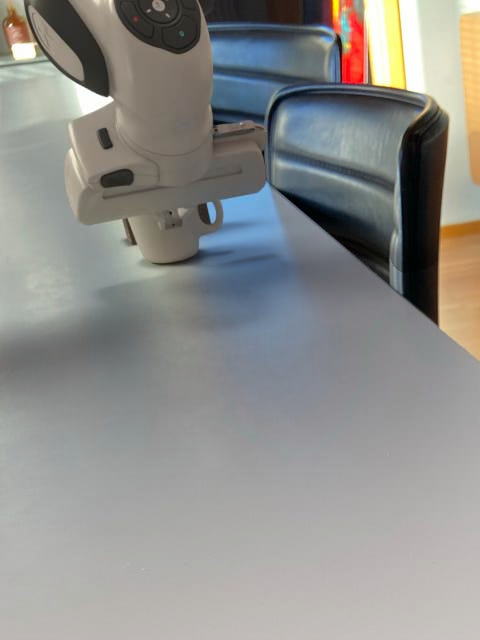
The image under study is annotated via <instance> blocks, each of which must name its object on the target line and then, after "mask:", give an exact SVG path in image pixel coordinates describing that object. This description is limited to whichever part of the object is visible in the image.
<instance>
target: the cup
mask: <svg viewBox="0 0 480 640" xmlns="http://www.w3.org/2000/svg"><path fill="white" fill-rule="evenodd" d="M211 203H212V205H213V207H214V210H215V220H214V222H213V223H211V225H207V224H205V223H203V222H202V221H201V219H200V217H199V214H198V205H197V207H196V208H195V209H194V211H193V212H192V213H191V214H190V215H189V216H188V217H187V225H186V226H182V227H176V228H171V229H166V230H162V231H161V230H160V229H159V225H158V222H157V221H156V220H155V219H153V218H152V217H150V215H149V214H146V215H141V216H135V217H130V218H128V221H129V223H130V226H131V229H132V231H133V234H134V237H135V240H136V242H137V247H138V250H139V252H140V253H141V254H140V255H142V257H143V258H144V259H145V260H146V261H148V262H150V263H155V264H170V263H171V264H172V263H176V262H182V261H185V260H188V259H190V258H193V257H194V256H195V255H196V254H197V253H198V251H199V249H200V238H201V237H203V236H205V235H210V234H211V235H212V234H214V233H217V232H218V231H219V230H220V229H221V227H222V226H223V223H224V207H223V204H222V200H218V201H213V202H211Z"/></svg>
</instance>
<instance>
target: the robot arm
mask: <svg viewBox="0 0 480 640" xmlns="http://www.w3.org/2000/svg"><path fill="white" fill-rule="evenodd" d="M215 1H216V0H23V7H24V13H25V16H26V20H27V23H28V25H29V29H30V31H31V33H32V36H33V38H34V39H35V42H36V43H37V45H38V47H39V49H40V50H41V52H42V54H43V55H44V56H45V57H46V58H47V60H48V61H49V62H50V63H51V64H52V65H53V66H54V67H55V68H56V69H57V70H58V71H59V72H60V73H61V74H62V75H64V76H65V77H66V78H68V79H69V80H71V81H72V82H74V83H75V84H77V85H79V86H81V87H82V88H85V89H86V90H87V91H90V92H92V93H94V94H96V95H98V96H101V97H103V98H109V97H110V98H112V101H111V102H109V103H107V104H106V105H104V106H101V107H100V108H98V109H95V110H94V111H91V112H88V113H87V114H85V115H82V116H80V117H77V118H75V119H73V120H71V121H70V122H69V123H68V124H67V132H68V134H67V135H68V137H69V142H70V146H71V147H70V148H69V149H68V150H67V151H66V152H67V153H66V155H65V159H64V183H65V190H66V194H67V199H68V202H69V204H70V208H71V210H72V213H73V215H74V217H75V220H76V221H77V222H78V223H79V224H82V225H84V226H87V227H88V226H94V225H98V224H103V223H110V222H114V221H115V222H116V221H120V220H122V219H125V218H130V217H135V216H141V215H146V214H149V215H150V217H152V218H153V219H155V220H156V221H157V222H158V225H159V229H160V230H161V231H162V230H166V229H171V228H176V227H182V226H186V225H187V217H188V216H189V215H190V214H191V213H192V212H193V211H194V209H195V208H196V207H197V205H198V204H203V203H207V204H208V203H212V202H213V201H218V200H220V201H223V200H229V199H234V198H238V197H244V196H249V195H250V196H251V195H254V194H258V193H260V192H261V191H262V189H264V188H265V186H266V184H267V174H266V173H267V172H266V166H265V165H266V164H265V160H264V159H265V158H264V156H263V153H262V152H263V151H264V150H265V149H266V147H267V145H268V130H267V128H266V126H264V125H263V124H261V123H254V121H253V120H249V119H247V120H241V121H239V122H233V123H223V124H217V125H214V117H213V110H212V106H211V100H212V97H213V91H214V61H213V53H212V43H211V37H210V33H209V28H208V25H207V24H208V23H207V20H206V18H205V16H208V14H210V13H211V11H212V10H213V7H214V5H215Z"/></svg>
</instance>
